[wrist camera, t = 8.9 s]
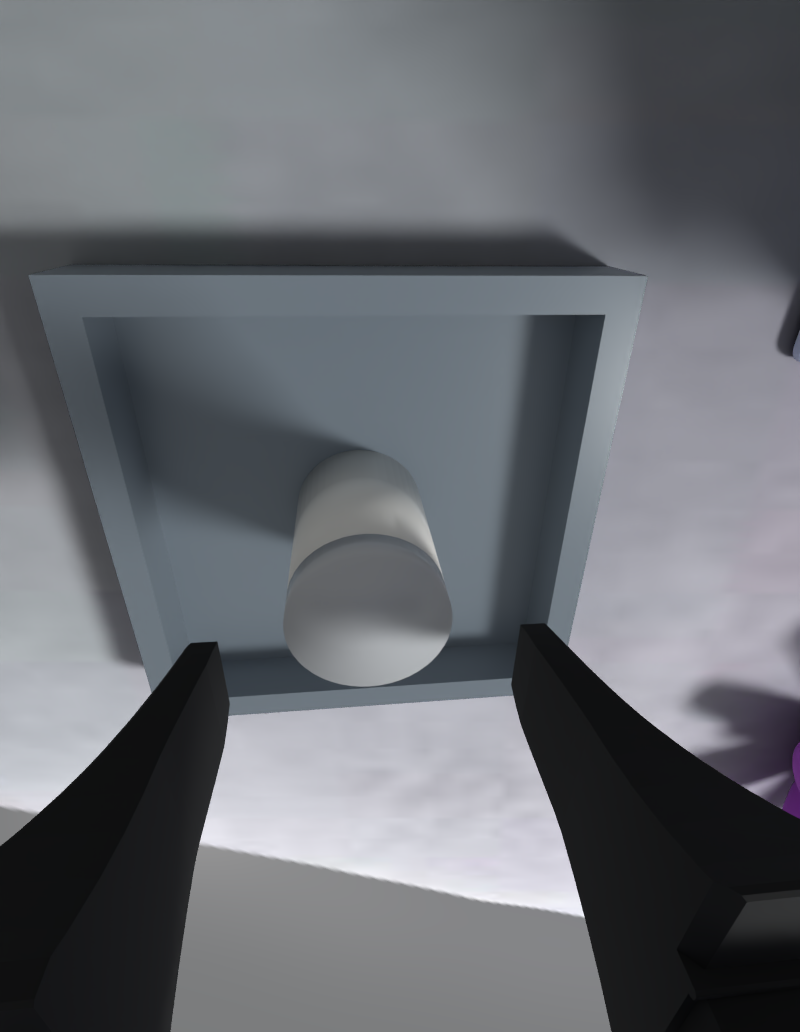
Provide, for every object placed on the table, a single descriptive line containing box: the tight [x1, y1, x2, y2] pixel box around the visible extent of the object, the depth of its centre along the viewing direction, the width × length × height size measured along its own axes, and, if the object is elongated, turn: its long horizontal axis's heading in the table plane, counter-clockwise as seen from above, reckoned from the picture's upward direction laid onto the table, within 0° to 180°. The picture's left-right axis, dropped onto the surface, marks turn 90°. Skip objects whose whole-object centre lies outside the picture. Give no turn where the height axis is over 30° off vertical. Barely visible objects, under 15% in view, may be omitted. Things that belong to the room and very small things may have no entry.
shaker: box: [283, 450, 452, 687], centre depth 17 cm, size 4×4×6 cm
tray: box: [28, 265, 648, 716], centre depth 19 cm, size 16×16×2 cm
